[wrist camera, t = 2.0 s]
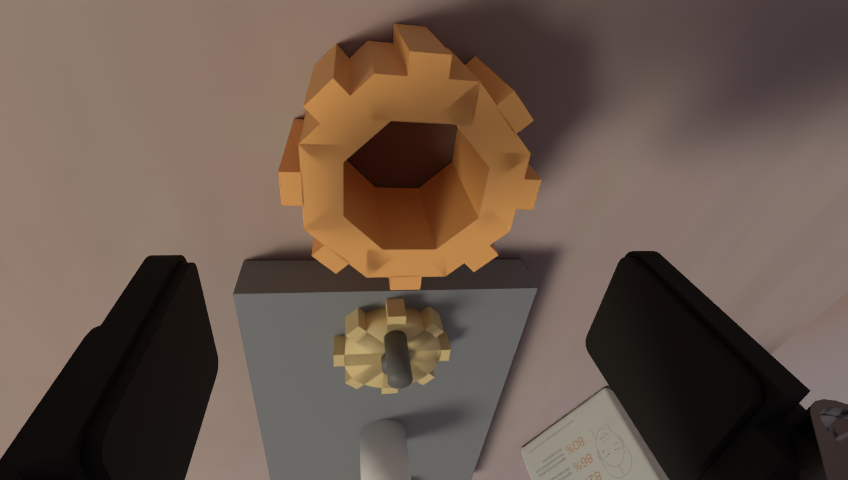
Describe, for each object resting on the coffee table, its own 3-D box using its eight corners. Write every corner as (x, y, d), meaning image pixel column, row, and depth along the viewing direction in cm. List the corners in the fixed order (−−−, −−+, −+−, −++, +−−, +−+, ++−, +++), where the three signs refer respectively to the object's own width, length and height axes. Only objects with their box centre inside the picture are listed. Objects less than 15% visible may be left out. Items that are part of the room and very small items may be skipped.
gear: (286, 12, 12) (265, 38, 9) (521, 35, 14) (575, 65, 10) (301, 222, 16) (289, 292, 13) (480, 224, 18) (509, 287, 14)
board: (243, 260, 17) (202, 387, 12) (521, 258, 19) (580, 366, 14) (284, 494, 28) (271, 607, 23) (455, 476, 30) (476, 576, 26)
